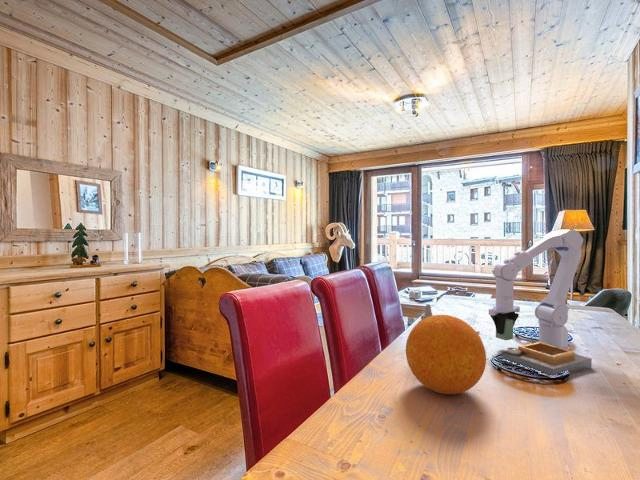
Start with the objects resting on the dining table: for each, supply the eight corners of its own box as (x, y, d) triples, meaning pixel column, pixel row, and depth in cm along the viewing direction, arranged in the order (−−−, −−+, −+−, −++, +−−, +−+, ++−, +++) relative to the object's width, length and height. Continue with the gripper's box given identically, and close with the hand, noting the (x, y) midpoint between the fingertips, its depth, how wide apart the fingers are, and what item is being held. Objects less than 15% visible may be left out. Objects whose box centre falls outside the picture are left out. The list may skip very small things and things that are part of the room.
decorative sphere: (502, 396, 87) (502, 318, 87) (452, 417, 77) (453, 329, 76) (437, 370, 104) (438, 305, 104) (390, 385, 93) (390, 312, 93)
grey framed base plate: (539, 352, 121) (539, 338, 121) (591, 368, 106) (591, 352, 106) (502, 360, 112) (502, 345, 112) (552, 379, 98) (553, 362, 98)
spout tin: (502, 336, 127) (503, 314, 127) (513, 339, 124) (513, 317, 123) (495, 337, 125) (495, 315, 125) (505, 340, 122) (505, 318, 122)
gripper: (507, 293, 131) (507, 328, 131) (481, 295, 125) (481, 332, 125) (525, 295, 125) (525, 332, 125) (498, 299, 118) (498, 337, 119)
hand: (504, 333), depth 124 cm, fingers closed on spout tin, 4 cm apart
